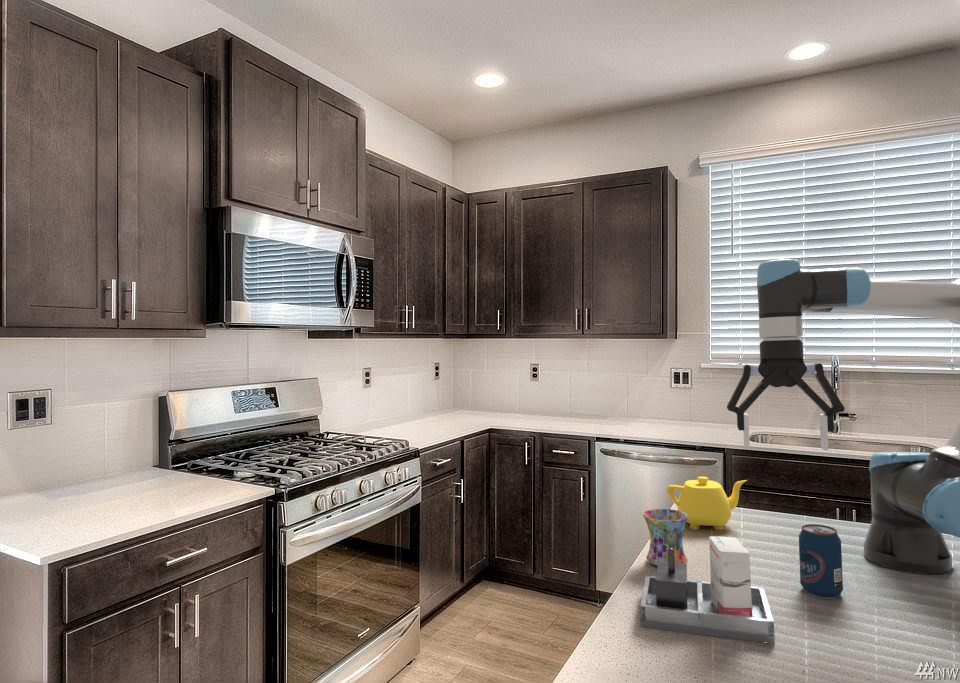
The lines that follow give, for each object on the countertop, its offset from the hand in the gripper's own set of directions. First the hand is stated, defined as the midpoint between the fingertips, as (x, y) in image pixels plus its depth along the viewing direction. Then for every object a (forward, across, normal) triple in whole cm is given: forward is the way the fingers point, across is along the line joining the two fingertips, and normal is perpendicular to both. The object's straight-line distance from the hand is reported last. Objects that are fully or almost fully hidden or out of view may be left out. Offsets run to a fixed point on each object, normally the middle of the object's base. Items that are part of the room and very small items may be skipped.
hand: (784, 448), depth 112 cm
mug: (+27, +23, -7) cm, 36 cm away
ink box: (+26, +12, +18) cm, 33 cm away
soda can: (+27, -5, +2) cm, 27 cm away
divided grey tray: (+27, +16, +18) cm, 36 cm away
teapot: (+27, +14, -36) cm, 47 cm away
